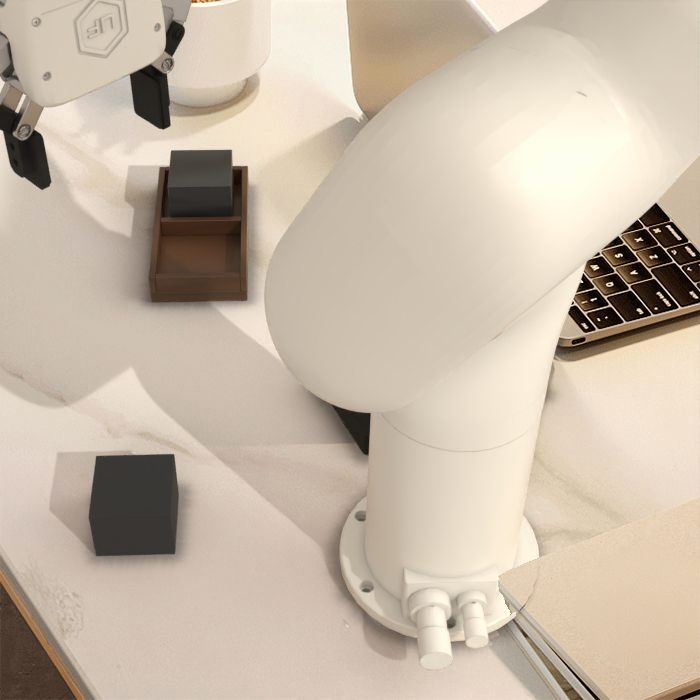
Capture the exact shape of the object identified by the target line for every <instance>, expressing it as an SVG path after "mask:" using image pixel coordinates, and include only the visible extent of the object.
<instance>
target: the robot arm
mask: <svg viewBox="0 0 700 700" xmlns="http://www.w3.org/2000/svg"><path fill="white" fill-rule="evenodd" d="M192 2H193V0H0V79H1V80H2V81H3V82H4V84H3V86H2V88H1V91H0V131H2V134H3V139H4V143H5V148H6V152H7V157H8V161H9V165H10V168H11V170H12V171H13V172H14V174H16V176H18V177H19V178H21V179H26V180H27V181H28V182H30V183H31V184H33V185H34V186H35V187H37V188H38V189H40V190H41V191H44V190H46V189H48V188H50V186H51V184H52V178H51V177H52V176H51V172H50V167H49V161H48V157H47V156H48V155H47V151H46V146H45V140H44V137H43V135H42V133H40V132H39V131H38V130H36V129H35V128H36V126H37V124H38V122H39V120H40V118H41V115H42V113H43V111H44V109H45V108H46V109H47V108H49V109H50V108H57V107H60V106H63V105H66V104H68V103H71V102H73V101H75V100H78V99H80V98H82V97H85V96H86V95H89V94H91V93H93V92H95V91H97V90H100V89H102V88H104V87H106V86H108V85H111V84H112V83H114V82H117V81H119V80H121V79H123V78H126V77H128V76H129V81H130V87H131V88H130V89H131V96H132V105H133V111H134V113H135V115H137V116H138V117H140V118H141V119H143V120H145V121H146V122H148V123H149V124H150V125H153V127H155V128H156V129H159V130H164V131H165V130H166V129H168V128H170V127H171V126H172V124H171V113H170V106H171V100H170V90H169V79H168V74H169V73H171V72H172V71H173V69H174V67H175V59H174V58H173V57H174V55H175V53H176V51H177V49H178V48H179V46H180V44H181V42H182V41H183V39H184V37H185V34H186V28H185V26H184V24H185V23H186V22H187V19H188V16H189V12H190V9H191V5H192ZM23 95H25V97H24V99H23V101H22V104H21V105H20V108H19V110H18V112H17V109H18V106H19V104H20V102H21V100H22V97H23ZM699 157H700V0H547V1H546V2H544V3H543V4H542V5H541V6H539V7H538V8H535V10H533V11H531V12H529V13H528V14H525V15H524V16H522V17H521V18H519V19H517V20H515V21H514V22H512V23H510V24H509V25H507V26H505V27H504V28H502V29H500V30H499V31H497V32H495V33H494V34H491V36H489V37H487V38H485V39H484V40H482V41H481V42H479V43H477V44H476V45H474V46H472V47H470V48H469V49H468V50H465V51H464V52H462V53H461V54H459V55H458V56H456V57H454V58H452V59H451V60H449V61H447V62H446V63H445V64H443V65H440V66H439V67H438V68H436V69H435V70H433V71H431V72H430V73H429V74H426V75H425V76H424V77H422V78H420V79H418V80H417V81H416V82H414V83H413V84H411V85H410V86H409V87H407V88H406V89H404V90H403V91H402V92H400V93H399V94H398V95H396V97H394V98H393V99H392V100H391V101H390V102H389V103H387V104H386V105H385V106H384V107H383V108H382V109H381V110H379V112H378V113H376V114H375V115H374V116H373V117H372V118H371V119H370V120H369V121H368V122H367V123H366V124H365V125H364V126H363V128H361V130H360V131H359V132H358V133H357V134H356V136H355V137H354V138H353V140H352V141H351V142H350V143H349V144H348V146H347V147H346V149H345V150H344V152H343V153H342V154H341V156H340V157H339V158H338V159H337V161H336V162H335V163H334V164H333V166H332V168H331V169H330V170H329V172H328V173H327V175H326V176H325V177H324V178H323V180H322V181H321V183H320V184H319V185H318V187H317V188H316V189H315V190H314V192H313V193H312V195H311V196H310V197H309V199H308V200H307V202H306V203H305V205H303V207H302V208H301V210H300V211H299V212H298V214H297V215H296V216H295V217H294V219H293V220H292V222H291V223H290V225H289V226H288V228H287V229H286V231H285V232H284V233H283V235H282V236H281V238H280V240H279V241H278V243H277V245H276V247H275V249H274V251H273V252H272V255H271V258H270V261H269V263H268V266H267V270H266V275H265V280H264V291H263V292H264V295H263V303H264V312H265V313H264V314H265V320H266V324H267V329H268V332H269V335H270V338H271V341H272V344H273V346H274V349H275V351H276V352H277V354H278V356H279V358H280V360H281V361H282V363H283V364H284V366H285V368H286V370H288V372H289V373H290V374H291V375H292V376H293V378H295V380H296V381H297V382H298V383H299V384H301V386H303V388H305V389H306V390H307V391H309V392H310V393H312V394H313V395H314V396H316V397H317V398H319V399H320V400H322V401H324V402H326V403H327V404H330V405H332V404H333V405H335V406H338V407H340V408H344V409H347V410H351V411H356V412H364V413H371V420H370V441H369V455H368V464H367V465H368V466H367V485H366V495H365V496H364V497H362V499H360V500H359V501H358V502H357V503H356V504H355V506H354V507H353V508H352V510H351V511H350V512H349V514H348V516H347V518H346V520H345V522H344V525H343V527H342V529H341V534H340V539H339V540H340V541H339V554H338V555H339V556H338V557H339V566H340V572H341V577H342V579H343V581H344V583H345V585H346V588H347V590H348V592H349V593H350V595H351V596H352V598H354V600H355V602H356V603H357V605H358V606H359V607H360V608H361V609H362V610H364V612H366V614H367V615H369V617H371V618H372V619H374V620H375V621H377V622H378V623H379V624H381V625H383V626H384V627H386V628H388V629H389V630H392V631H394V632H397V633H398V634H401V635H403V636H406V637H410V638H413V639H416V642H417V652H418V662H419V665H420V666H421V668H422V669H425V670H428V671H440V670H443V669H446V668H448V667H449V666H451V665H452V663H453V662H454V659H453V650H452V643H451V642H465V645H466V646H467V647H468V648H469V649H475V650H476V649H482V648H484V647H486V646H487V645H488V644H489V643H490V638H489V634H490V633H492V632H495V631H497V630H499V629H501V628H502V627H504V626H505V625H506V624H508V623H509V622H511V620H513V619H515V617H517V615H516V612H513V613H512V614H511V613H510V610H509V609H508V607H507V605H506V604H505V600H504V597H503V595H502V594H501V593H500V592H499V587H498V580H499V577H498V576H499V575H501V574H503V573H505V572H506V571H508V570H510V569H512V568H515V567H517V566H520V565H522V564H524V563H527V562H529V561H532V560H534V559H537V558H539V559H540V550H539V549H540V548H539V543H538V540H537V538H536V534H535V532H534V530H533V527H532V526H531V524H530V522H529V521H528V519H527V517H526V516H525V514H524V513H525V507H526V506H525V505H526V501H527V495H528V490H529V485H530V478H531V473H532V468H533V464H534V463H533V462H534V456H535V452H536V446H537V440H538V435H539V430H540V426H541V425H540V424H541V420H542V414H543V410H544V407H545V406H544V405H545V401H546V396H547V390H548V385H549V380H550V375H551V370H552V366H553V361H554V357H555V353H556V349H557V346H558V342H559V340H560V336H561V333H562V330H563V327H564V325H565V322H566V319H567V316H568V314H569V311H570V309H571V306H572V303H573V302H574V299H575V296H576V293H577V291H578V289H579V286H580V284H581V281H582V278H583V274H584V272H585V268H586V266H587V262H588V261H590V260H591V259H592V258H593V257H595V256H596V255H597V254H598V253H599V252H600V251H602V250H603V249H604V248H605V247H606V246H608V245H609V244H610V243H612V242H613V241H614V240H615V239H617V237H619V236H620V235H621V234H622V233H624V232H625V231H626V230H627V229H628V228H630V227H631V226H632V225H633V224H634V223H635V222H636V221H638V219H640V218H641V217H642V216H643V215H644V214H646V213H647V212H648V211H649V210H650V209H651V208H652V207H653V206H654V205H655V204H656V203H657V202H658V201H659V200H660V199H661V198H662V197H663V196H664V195H665V193H666V192H667V191H669V189H670V188H671V187H672V186H673V185H674V184H675V183H676V181H677V180H678V179H679V178H680V177H681V176H682V175H683V173H684V172H685V171H687V169H688V168H689V167H690V166H691V165H692V164H693V163H694V162H695V161H696V160H697V159H698V158H699ZM510 614H511V615H510Z"/></svg>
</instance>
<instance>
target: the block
mask: <svg viewBox="0 0 700 700" xmlns="http://www.w3.org/2000/svg"><path fill="white" fill-rule="evenodd" d="M175 456H176V455H175V453H155V454H153V453H152V454H151V453H150V454H113V455H112V454H111V455H110V454H109V455H96V456H95V462H94V467H93V468H94V469H93V475H92V476H93V478H92V486H91V495H90V501H89V502H90V503H89V509H88V522H89V526H90V531H91V537H92V541H93V547H94V553H95V556H96V557H114V556H115V557H119V556H120V557H121V556H150V555H151V556H153V555H157V556H158V555H175V554H176V548H177V547H176V546H177V530H178V514H179V497H180V492H179V483H178V473H177V464H176V457H175Z"/></svg>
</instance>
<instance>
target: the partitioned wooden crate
mask: <svg viewBox="0 0 700 700" xmlns="http://www.w3.org/2000/svg"><path fill="white" fill-rule="evenodd" d="M233 158H234V157H233V150H232V149H171V150H170V156H169V166H159V168H158V179H157V189H156V198H155V209H154V220H153V227H152V228H153V230H152V239H151V248H150V249H151V251H150V259H149V269H148V270H149V272H148V284H149V292H150V302H152V303H170V302H173V303H174V302H177V303H178V302H229V301H231V302H233V301H236V302H237V301H248V299H249V297H248V295H249V294H248V293H249V287H248V286H249V215H250V214H249V213H250V212H249V211H250V210H249V209H250V207H249V206H250V205H249V204H250V184H249V183H250V181H249V166H248V165H234V161H233V160H234V159H233Z"/></svg>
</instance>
